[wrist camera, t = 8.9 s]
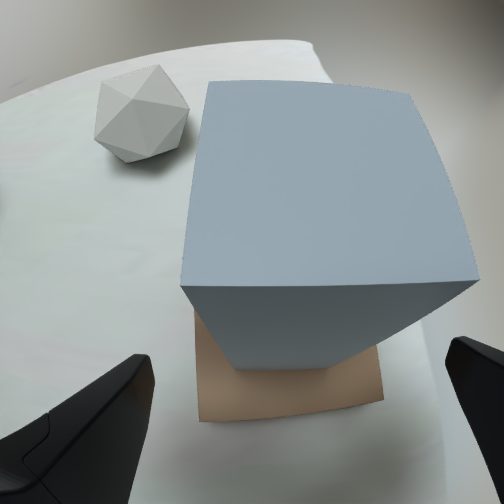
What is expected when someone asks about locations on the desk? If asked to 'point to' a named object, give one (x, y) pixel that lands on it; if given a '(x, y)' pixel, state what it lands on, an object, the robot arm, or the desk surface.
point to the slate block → (317, 222)
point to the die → (140, 114)
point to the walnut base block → (279, 385)
